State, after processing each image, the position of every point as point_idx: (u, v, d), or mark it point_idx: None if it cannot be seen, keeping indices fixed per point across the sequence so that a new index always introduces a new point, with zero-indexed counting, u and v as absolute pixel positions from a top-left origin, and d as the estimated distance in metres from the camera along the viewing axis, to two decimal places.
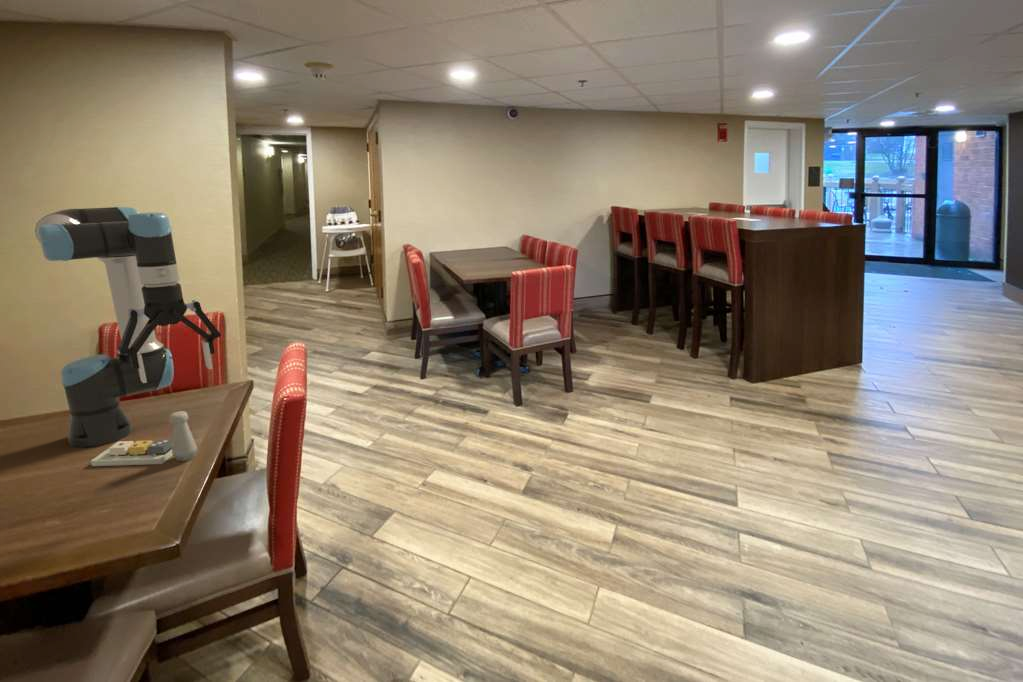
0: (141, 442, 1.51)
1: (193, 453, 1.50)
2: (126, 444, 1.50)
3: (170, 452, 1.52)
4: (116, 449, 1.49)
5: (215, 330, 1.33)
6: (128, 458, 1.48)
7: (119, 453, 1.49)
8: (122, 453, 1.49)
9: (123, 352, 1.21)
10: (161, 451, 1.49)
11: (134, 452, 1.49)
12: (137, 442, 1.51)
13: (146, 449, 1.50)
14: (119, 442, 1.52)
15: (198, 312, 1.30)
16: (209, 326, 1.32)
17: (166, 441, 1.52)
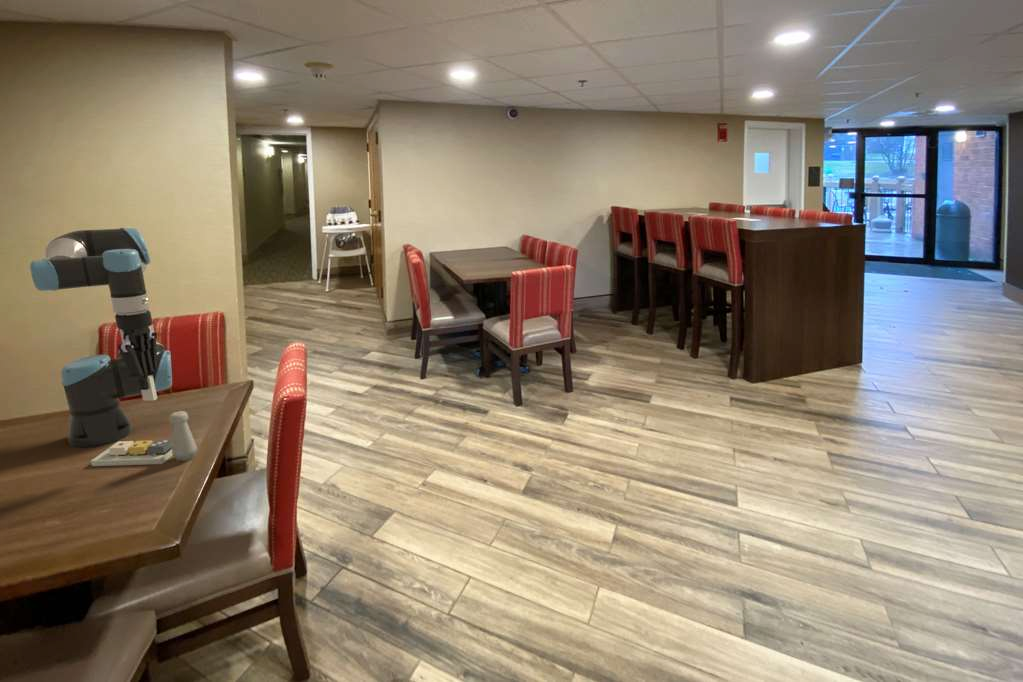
0: (141, 442, 1.51)
1: (193, 453, 1.50)
2: (126, 444, 1.50)
3: (170, 452, 1.52)
4: (116, 449, 1.49)
5: (156, 362, 1.48)
6: (128, 458, 1.48)
7: (119, 453, 1.49)
8: (122, 453, 1.49)
9: (143, 375, 1.42)
10: (161, 451, 1.49)
11: (134, 452, 1.49)
12: (137, 442, 1.51)
13: (146, 449, 1.50)
14: (119, 442, 1.52)
15: (154, 341, 1.48)
16: (154, 356, 1.48)
17: (166, 441, 1.52)
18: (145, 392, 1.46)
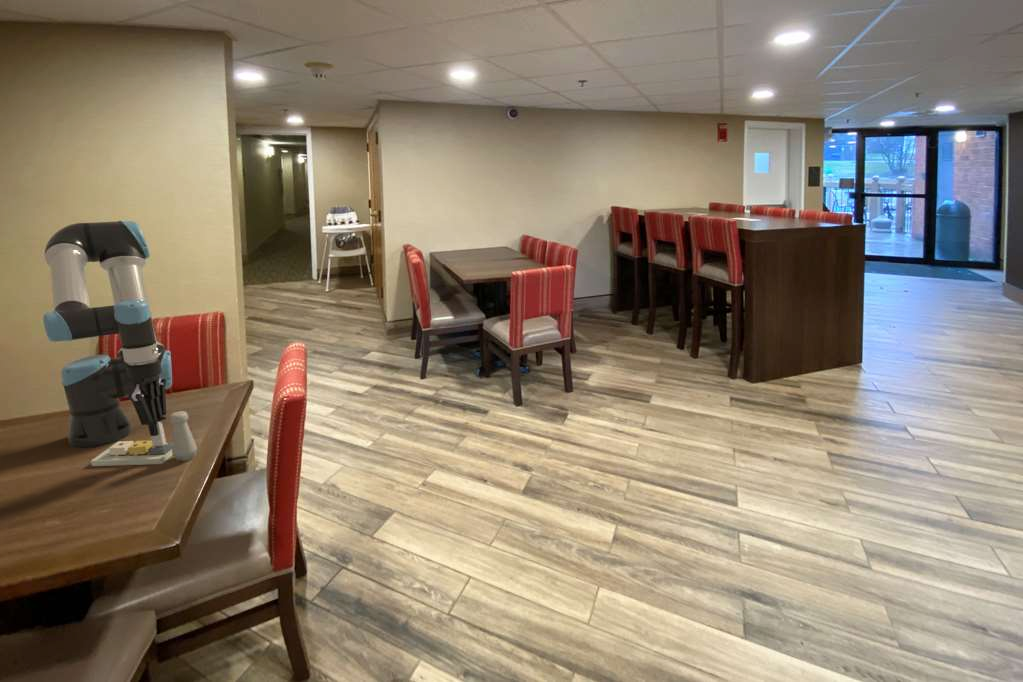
0: (141, 442, 1.51)
1: (193, 453, 1.50)
2: (126, 444, 1.50)
3: (170, 452, 1.52)
4: (116, 449, 1.49)
5: (165, 408, 1.52)
6: (128, 458, 1.48)
7: (119, 453, 1.49)
8: (122, 453, 1.49)
9: (152, 422, 1.46)
10: (161, 453, 1.49)
11: (134, 452, 1.49)
12: (137, 442, 1.51)
13: (146, 449, 1.50)
14: (119, 442, 1.52)
15: (163, 387, 1.51)
16: (163, 402, 1.51)
17: (167, 444, 1.52)
18: (155, 438, 1.49)
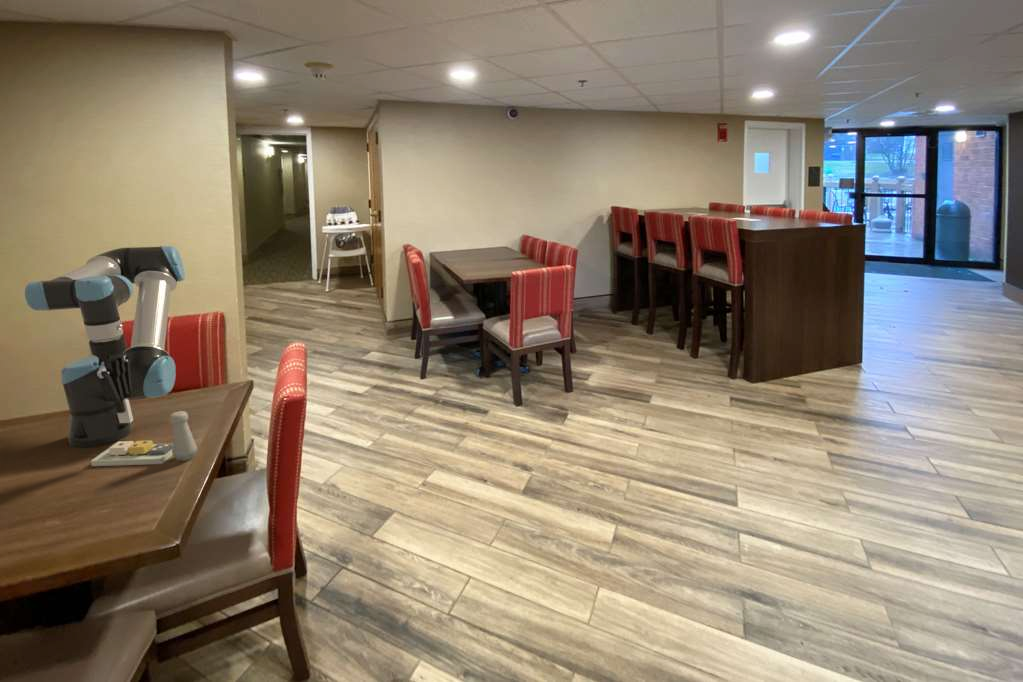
0: (141, 442, 1.51)
1: (193, 453, 1.50)
2: (126, 444, 1.50)
3: (170, 452, 1.52)
4: (116, 449, 1.49)
5: (130, 385, 1.51)
6: (128, 458, 1.48)
7: (119, 453, 1.49)
8: (122, 453, 1.49)
9: (119, 399, 1.45)
10: None
11: (134, 452, 1.49)
12: (137, 442, 1.51)
13: (146, 449, 1.50)
14: (119, 442, 1.52)
15: (128, 364, 1.50)
16: (129, 379, 1.50)
17: (167, 445, 1.52)
18: (121, 415, 1.49)
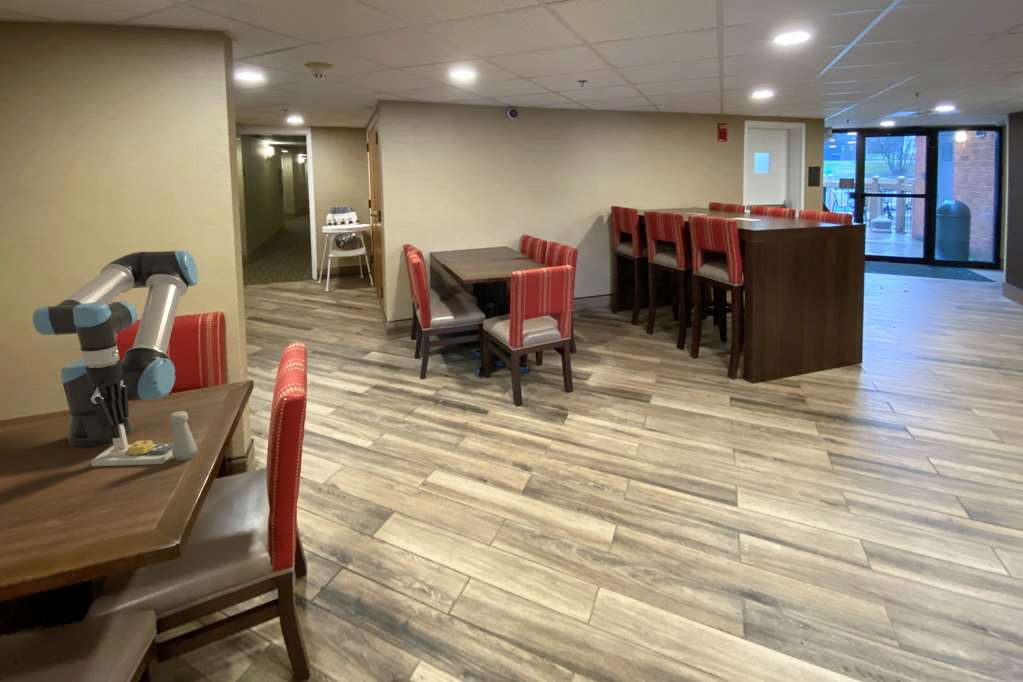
0: (141, 442, 1.51)
1: (193, 453, 1.50)
2: (127, 448, 1.51)
3: (170, 452, 1.52)
4: (117, 453, 1.49)
5: (127, 410, 1.52)
6: (128, 458, 1.48)
7: None
8: None
9: (113, 425, 1.46)
10: None
11: (134, 452, 1.49)
12: (137, 442, 1.51)
13: (146, 449, 1.50)
14: None
15: (125, 390, 1.51)
16: (125, 405, 1.51)
17: (167, 445, 1.52)
18: (116, 440, 1.49)
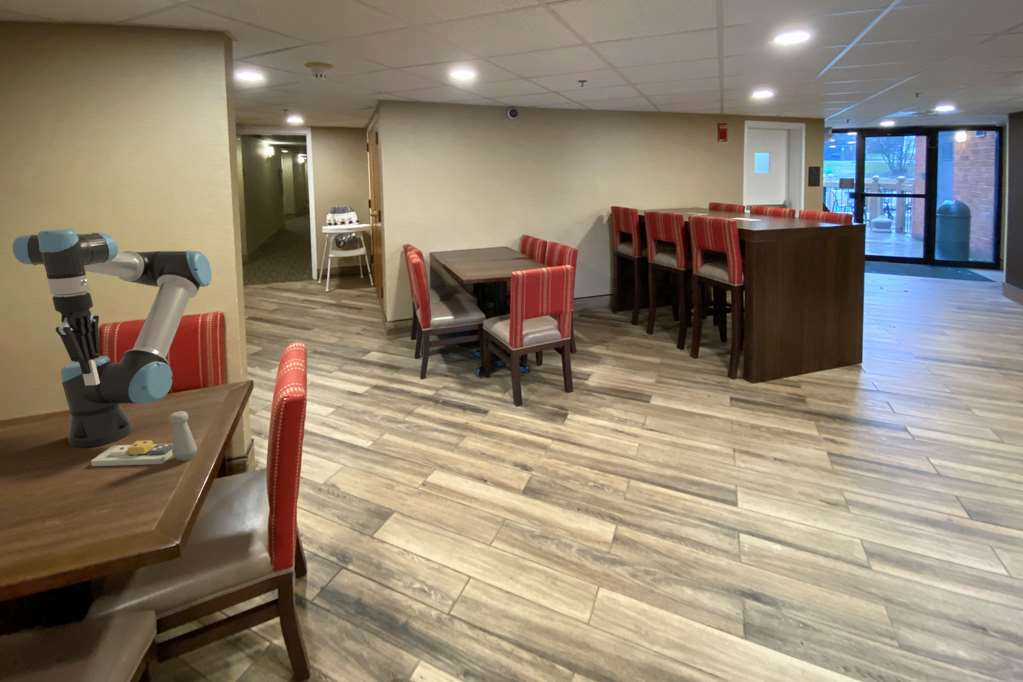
0: (141, 442, 1.51)
1: (193, 453, 1.50)
2: (127, 448, 1.51)
3: (170, 452, 1.52)
4: (117, 453, 1.49)
5: (98, 346, 1.45)
6: (128, 458, 1.48)
7: None
8: None
9: (83, 359, 1.39)
10: None
11: (134, 452, 1.49)
12: (137, 442, 1.51)
13: (146, 449, 1.50)
14: (120, 446, 1.52)
15: (95, 324, 1.44)
16: (96, 340, 1.44)
17: (167, 445, 1.52)
18: (87, 376, 1.43)
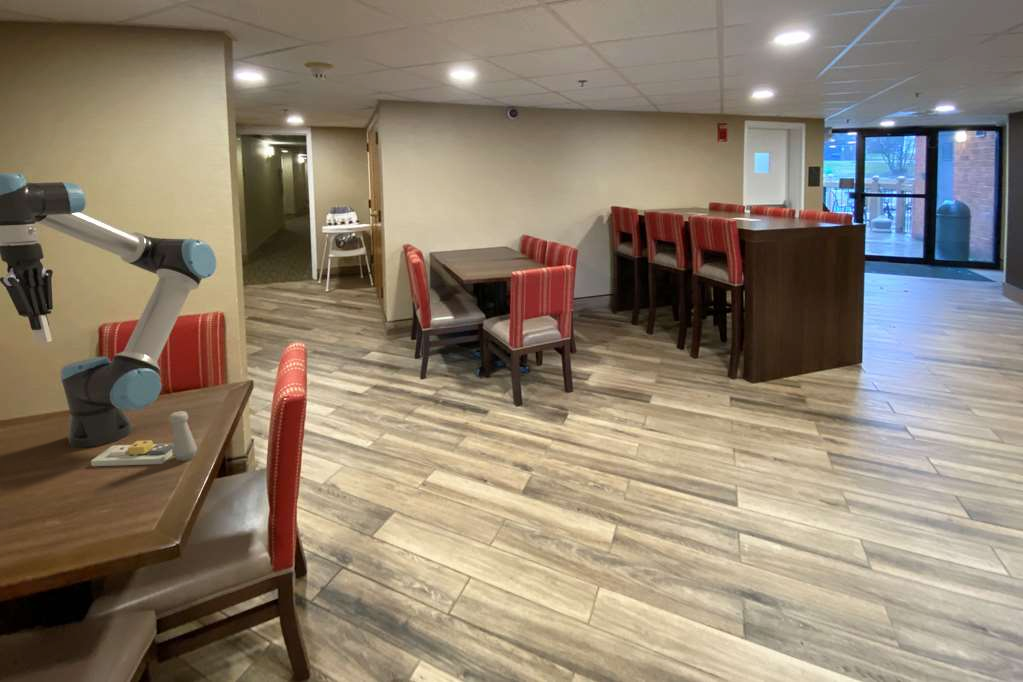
0: (141, 442, 1.51)
1: (193, 453, 1.50)
2: (127, 448, 1.51)
3: (170, 452, 1.52)
4: (117, 453, 1.49)
5: (51, 302, 1.37)
6: (128, 458, 1.48)
7: None
8: None
9: (32, 313, 1.31)
10: None
11: (134, 452, 1.49)
12: (137, 442, 1.51)
13: (146, 449, 1.50)
14: (120, 446, 1.52)
15: (48, 278, 1.36)
16: (49, 295, 1.36)
17: (167, 445, 1.52)
18: (37, 333, 1.35)
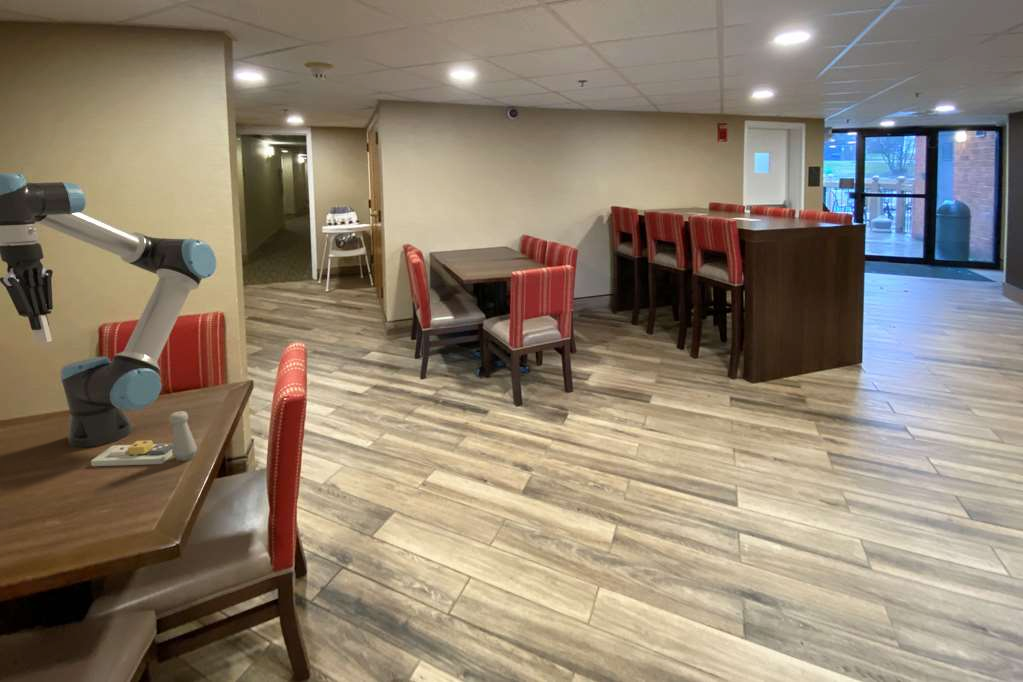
0: (141, 442, 1.51)
1: (193, 453, 1.50)
2: (127, 448, 1.51)
3: (170, 452, 1.52)
4: (117, 453, 1.49)
5: (51, 302, 1.37)
6: (128, 458, 1.48)
7: None
8: None
9: (32, 313, 1.31)
10: None
11: (134, 452, 1.49)
12: (137, 442, 1.51)
13: (146, 449, 1.50)
14: (120, 446, 1.52)
15: (48, 278, 1.36)
16: (49, 295, 1.36)
17: (167, 445, 1.52)
18: (37, 333, 1.35)
